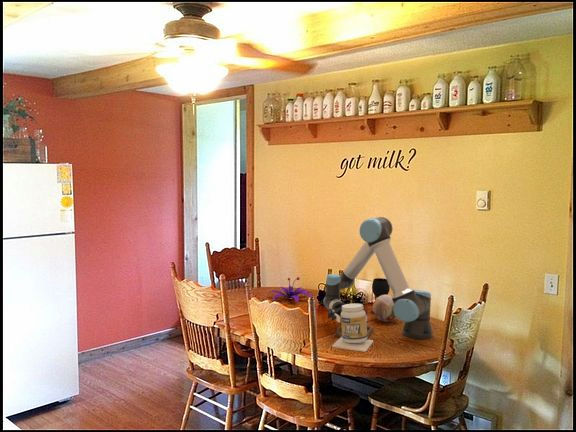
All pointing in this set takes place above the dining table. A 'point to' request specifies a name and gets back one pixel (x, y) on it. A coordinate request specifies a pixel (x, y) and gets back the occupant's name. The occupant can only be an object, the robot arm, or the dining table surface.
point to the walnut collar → (339, 331)
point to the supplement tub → (353, 323)
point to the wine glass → (380, 287)
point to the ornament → (384, 308)
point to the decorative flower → (291, 292)
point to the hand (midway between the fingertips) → (353, 319)
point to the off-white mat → (353, 345)
